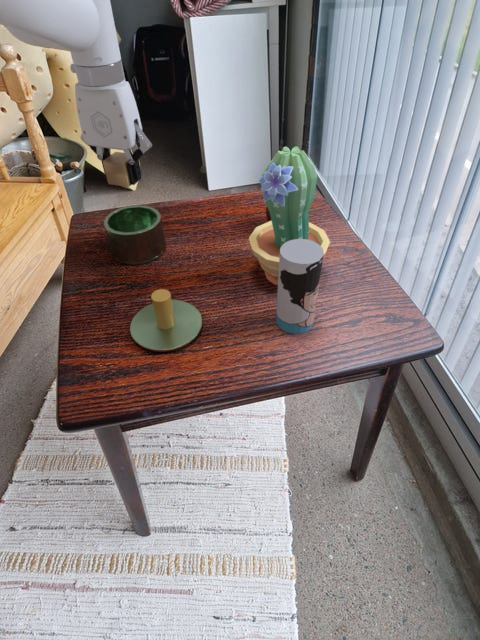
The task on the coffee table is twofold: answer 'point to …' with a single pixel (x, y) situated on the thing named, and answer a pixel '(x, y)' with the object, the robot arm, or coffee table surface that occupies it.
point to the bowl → (135, 234)
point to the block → (117, 169)
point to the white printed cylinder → (298, 285)
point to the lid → (165, 323)
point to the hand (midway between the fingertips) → (124, 178)
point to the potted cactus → (286, 208)
